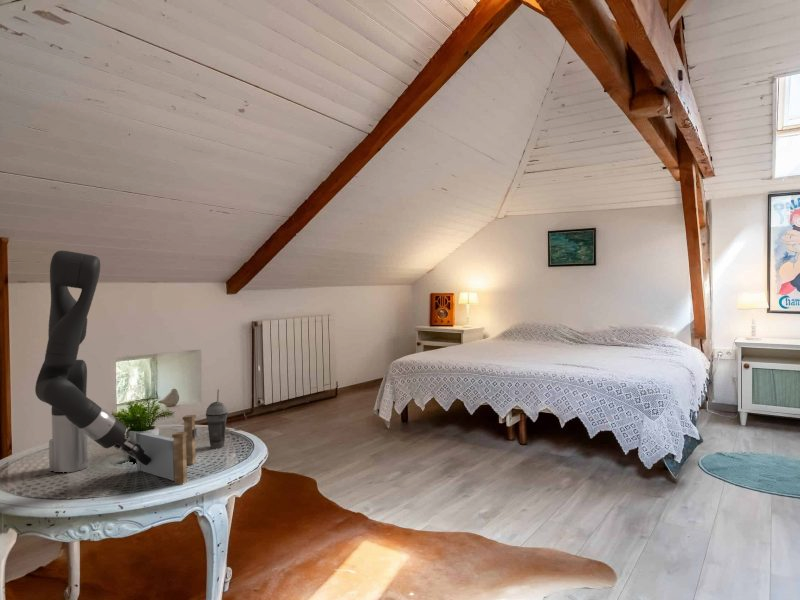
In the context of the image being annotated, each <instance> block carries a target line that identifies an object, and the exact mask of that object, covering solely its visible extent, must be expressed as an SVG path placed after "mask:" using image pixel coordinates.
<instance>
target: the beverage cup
mask: <svg viewBox="0 0 800 600" xmlns="http://www.w3.org/2000/svg"><path fill="white" fill-rule="evenodd" d="M219 395H220V389H217V393H216V401H213V402H211V403H210V404H209V405H208V406H207V408H206V411H205V416H206V421H207V430H208V439H209V444H210V449H213V450H217V449H216V448H218V449H222V447H223V448H224V447H225V442H226V429H227V428H226V427H227V418H228V413H229V412H228V408H227V407H226V405H225V404H224V403H223V402H221V401H220V400H219V399H220V396H219Z"/></svg>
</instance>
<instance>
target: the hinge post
mask: <svg viewBox="0 0 800 600" xmlns="http://www.w3.org/2000/svg"><path fill="white" fill-rule="evenodd" d="M186 435H187V432H184V431H176V432H174V433H172V435H171V438H174V469H175V480H174V485H184V484H186V483H185V482H186V481H187V482H188V467H187V466H188V465H187V461H186ZM183 483H184V484H183Z"/></svg>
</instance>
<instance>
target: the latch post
mask: <svg viewBox="0 0 800 600" xmlns="http://www.w3.org/2000/svg"><path fill="white" fill-rule="evenodd" d="M196 417H197V415H196V414H186V415H184V416H182V421H183V432H187V435H186V461H187V466H190V465H192V466H193V465H194V464H195V463H197V461H196V437H197V432H198V431H197V428H195V427H196V421H195V420H196V419H195V418H196Z"/></svg>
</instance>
